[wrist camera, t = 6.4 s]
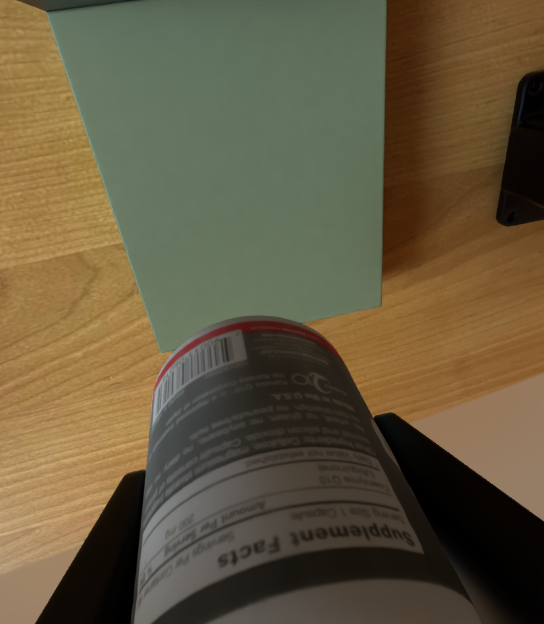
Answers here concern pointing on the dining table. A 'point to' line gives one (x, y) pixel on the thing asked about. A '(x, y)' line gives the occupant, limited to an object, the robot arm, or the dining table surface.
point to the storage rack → (236, 150)
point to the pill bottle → (279, 493)
